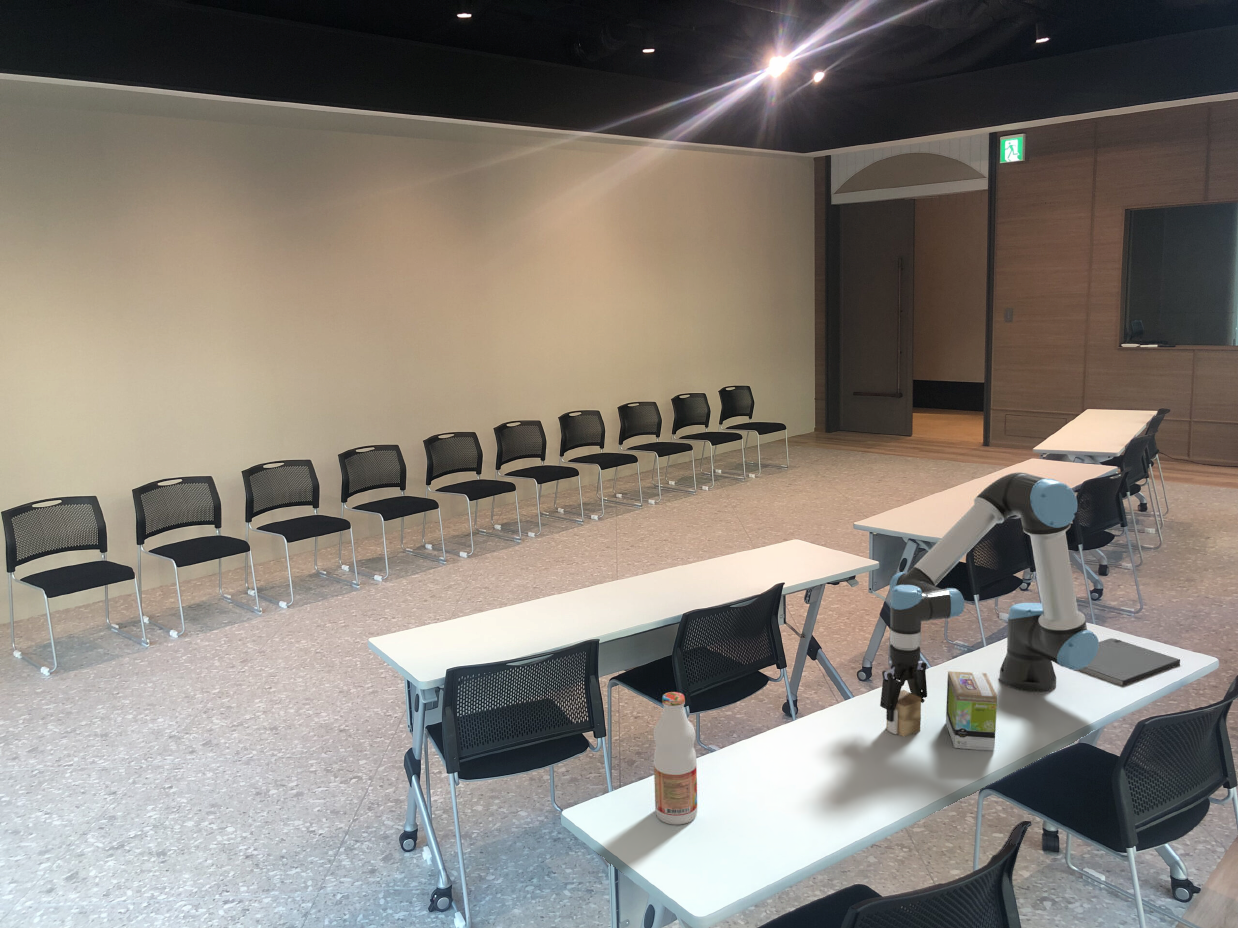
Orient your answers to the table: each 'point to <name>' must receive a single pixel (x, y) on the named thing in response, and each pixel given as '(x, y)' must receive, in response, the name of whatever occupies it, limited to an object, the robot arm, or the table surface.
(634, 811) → the table surface
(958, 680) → the tea box
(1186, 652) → the table surface
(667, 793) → the fruit juice
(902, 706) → the oak block
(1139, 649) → the notebook
